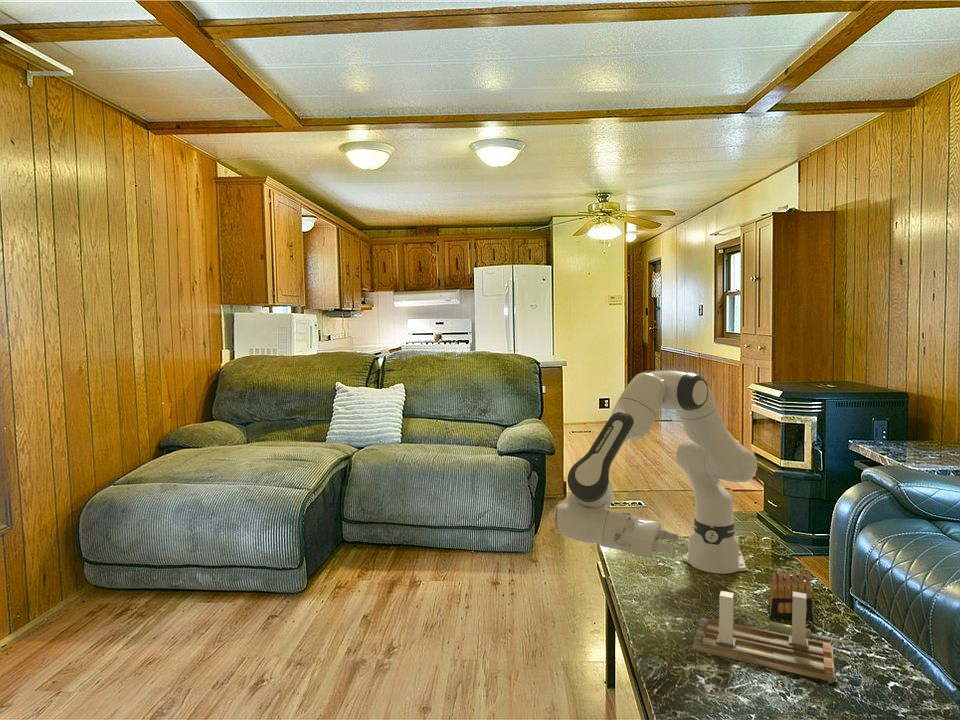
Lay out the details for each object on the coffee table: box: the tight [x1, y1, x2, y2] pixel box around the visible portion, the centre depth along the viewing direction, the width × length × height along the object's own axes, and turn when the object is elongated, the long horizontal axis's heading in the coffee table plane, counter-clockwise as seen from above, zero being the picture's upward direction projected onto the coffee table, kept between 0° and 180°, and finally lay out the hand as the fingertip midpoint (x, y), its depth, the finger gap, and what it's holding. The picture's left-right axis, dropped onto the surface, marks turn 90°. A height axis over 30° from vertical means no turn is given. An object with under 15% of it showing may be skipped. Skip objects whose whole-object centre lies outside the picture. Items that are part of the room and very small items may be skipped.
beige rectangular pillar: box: [716, 590, 736, 648], centre depth 144 cm, size 4×4×12 cm
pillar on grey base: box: [789, 591, 808, 649], centre depth 143 cm, size 4×4×12 cm
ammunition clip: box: [767, 570, 813, 619], centre depth 160 cm, size 11×2×12 cm, turn 89°
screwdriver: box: [768, 621, 850, 645], centre depth 149 cm, size 17×3×3 cm, turn 62°
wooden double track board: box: [692, 617, 836, 683], centre depth 144 cm, size 13×29×2 cm, turn 62°
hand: (676, 543), depth 149 cm, fingers open, 8 cm apart
